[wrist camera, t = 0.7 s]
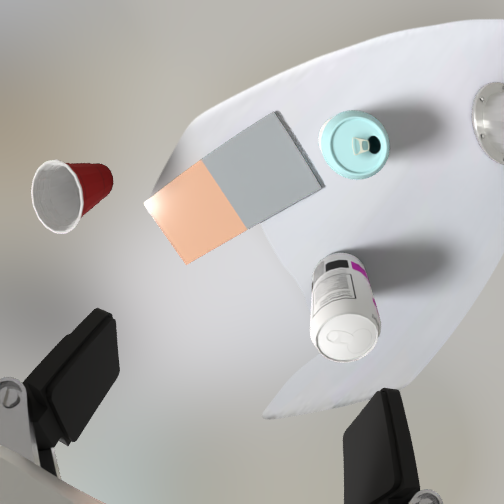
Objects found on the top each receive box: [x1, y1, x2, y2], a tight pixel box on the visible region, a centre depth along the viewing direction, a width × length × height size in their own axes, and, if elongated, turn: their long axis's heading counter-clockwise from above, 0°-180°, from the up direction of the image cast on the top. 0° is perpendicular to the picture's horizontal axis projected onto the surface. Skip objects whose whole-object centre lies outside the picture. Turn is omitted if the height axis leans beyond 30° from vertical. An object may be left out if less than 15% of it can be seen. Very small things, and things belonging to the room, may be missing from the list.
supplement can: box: [310, 253, 381, 363], centre depth 37 cm, size 8×8×15 cm
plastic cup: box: [31, 160, 113, 234], centre depth 40 cm, size 11×11×12 cm
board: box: [144, 112, 321, 265], centre depth 42 cm, size 24×12×1 cm, turn 123°
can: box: [319, 110, 390, 180], centre depth 31 cm, size 7×7×12 cm
